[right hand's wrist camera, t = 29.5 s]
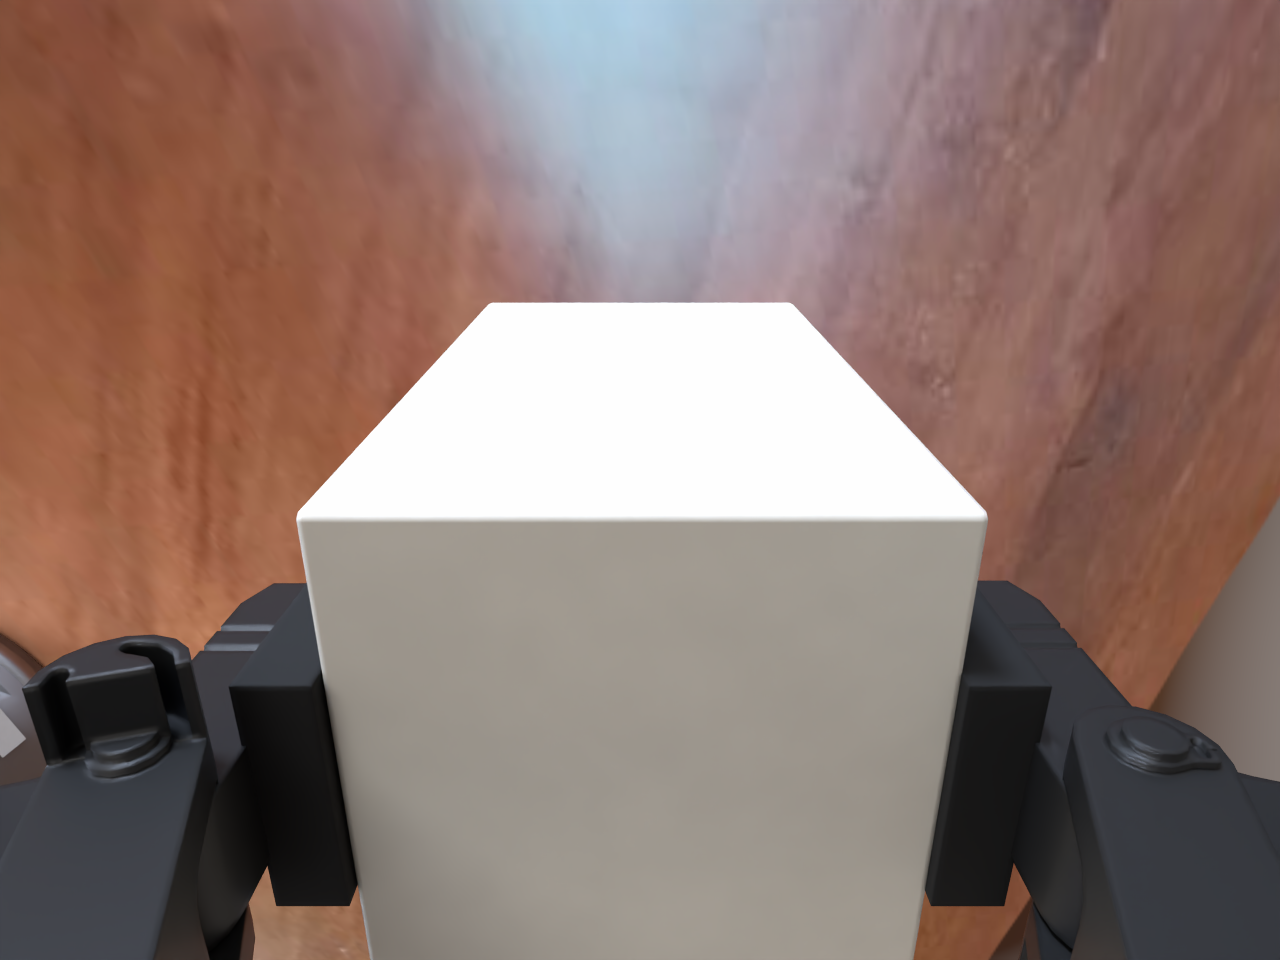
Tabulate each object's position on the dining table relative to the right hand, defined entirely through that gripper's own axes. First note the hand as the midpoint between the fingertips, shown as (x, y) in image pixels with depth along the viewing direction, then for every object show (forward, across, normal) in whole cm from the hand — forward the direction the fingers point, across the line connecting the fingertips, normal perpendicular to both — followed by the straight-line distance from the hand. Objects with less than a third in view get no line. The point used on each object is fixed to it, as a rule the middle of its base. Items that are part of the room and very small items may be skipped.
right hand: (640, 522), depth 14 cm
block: (+4, 0, 0) cm, 4 cm away
